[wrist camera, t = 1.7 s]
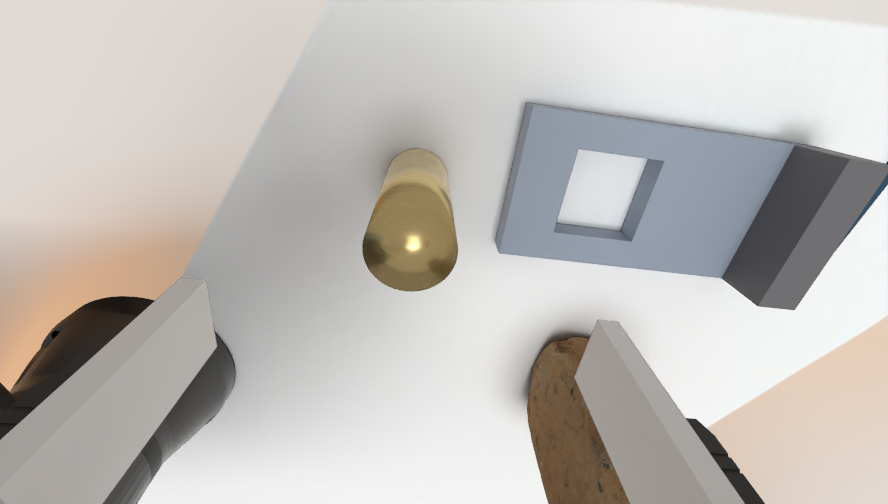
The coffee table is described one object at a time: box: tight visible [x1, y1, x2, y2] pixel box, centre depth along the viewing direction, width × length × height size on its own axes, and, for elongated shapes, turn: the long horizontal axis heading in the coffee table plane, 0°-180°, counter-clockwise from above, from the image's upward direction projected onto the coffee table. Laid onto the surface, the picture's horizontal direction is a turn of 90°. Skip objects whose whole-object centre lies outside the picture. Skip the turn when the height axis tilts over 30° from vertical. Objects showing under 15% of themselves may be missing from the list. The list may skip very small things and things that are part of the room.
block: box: [527, 337, 630, 504], centre depth 30 cm, size 11×8×20 cm
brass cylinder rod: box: [363, 149, 458, 291], centre depth 24 cm, size 5×5×12 cm
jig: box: [495, 103, 888, 310], centre depth 28 cm, size 22×11×6 cm, turn 82°
